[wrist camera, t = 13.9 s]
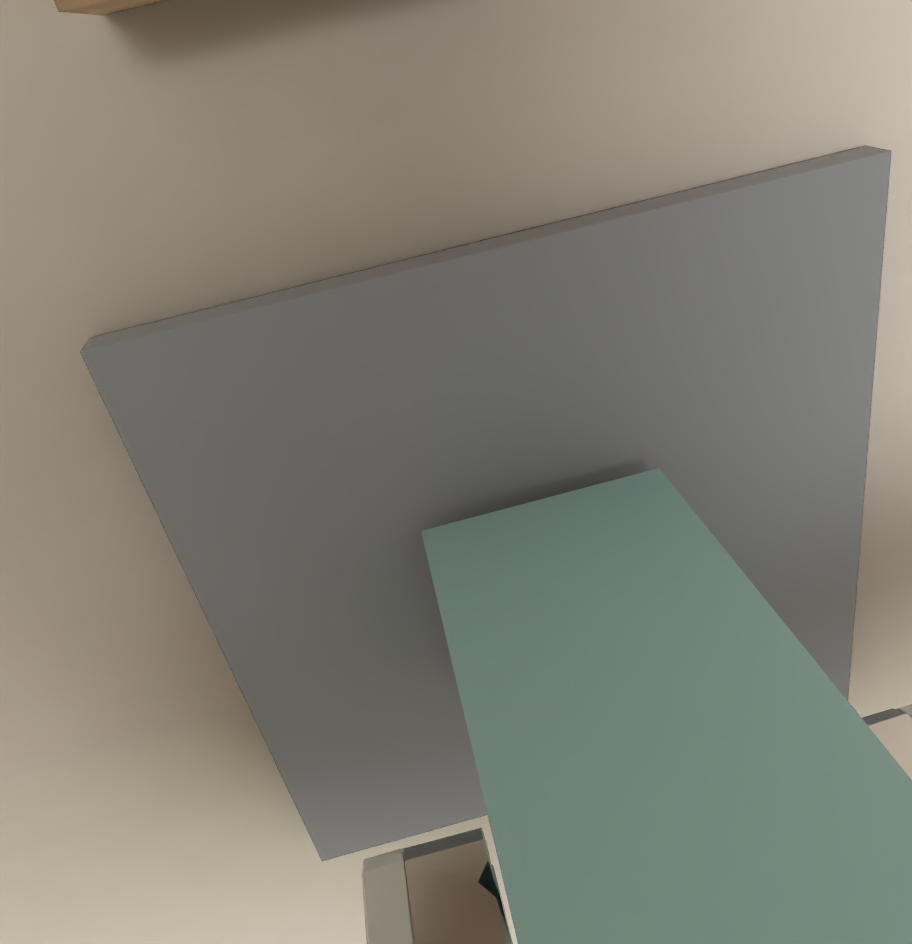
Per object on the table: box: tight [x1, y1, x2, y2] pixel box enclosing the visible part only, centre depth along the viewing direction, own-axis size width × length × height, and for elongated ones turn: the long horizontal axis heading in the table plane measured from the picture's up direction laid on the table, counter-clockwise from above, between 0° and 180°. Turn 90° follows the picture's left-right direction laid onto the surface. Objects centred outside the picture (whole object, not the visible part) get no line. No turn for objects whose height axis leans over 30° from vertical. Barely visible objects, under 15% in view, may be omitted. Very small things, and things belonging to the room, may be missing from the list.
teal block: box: [421, 468, 912, 944], centre depth 10 cm, size 4×4×8 cm
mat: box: [80, 146, 891, 861], centre depth 15 cm, size 12×12×1 cm
